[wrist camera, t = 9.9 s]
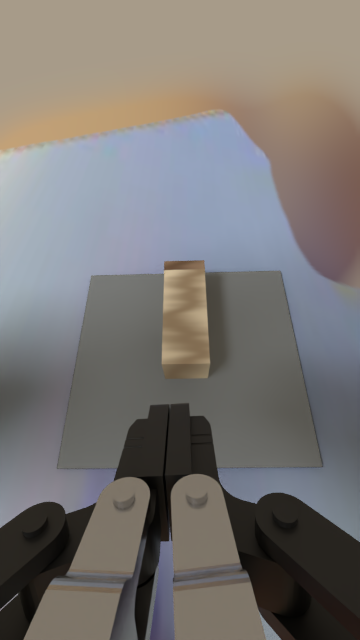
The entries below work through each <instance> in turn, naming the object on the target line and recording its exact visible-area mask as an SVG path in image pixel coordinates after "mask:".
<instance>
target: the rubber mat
mask: <svg viewBox="0 0 360 640" xmlns="http://www.w3.org/2000/svg"><path fill="white" fill-rule="evenodd" d="M205 284H206V301H207V318H208V336H209V353H210V367H209V373H208V378H190V379H165V375H164V371H163V368H162V332H163V296H164V274H137V275H97V276H91V280H90V286H89V292H88V297H87V303H86V308H85V314H84V320H83V325H82V331H81V336H80V342H79V348H78V353H77V359H76V364H75V370H74V376H73V381H72V387H71V392H70V398H69V403H68V409H67V415H66V420H65V426H64V431H63V437H62V443H61V448H60V454H59V459H58V465H57V469H88V468H118V465H119V461H120V458H121V454H122V451H123V449H124V444H125V440H126V437H127V433H128V430H129V427H130V426H131V425H132V424H133V423H134V422H135V421H136V420H137V419H148V414H149V409H150V405H159V404H169V405H170V404H177V403H189V409H190V416H204V417H205V418H206V419H207V420H208V421H209V423H210V425H211V431H212V438H213V444H214V451H215V458H216V464H217V468H254V467H322V462H321V457H320V453H319V448H318V443H317V439H316V434H315V430H314V425H313V420H312V416H311V411H310V406H309V402H308V397H307V393H306V388H305V383H304V379H303V374H302V369H301V365H300V360H299V355H298V351H297V346H296V342H295V337H294V332H293V328H292V323H291V318H290V314H289V309H288V305H287V300H286V295H285V291H284V286H283V281H282V277H281V272H280V271H254V272H215V273H205Z"/></svg>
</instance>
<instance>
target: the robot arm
mask: <svg viewBox="0 0 360 640" xmlns="http://www.w3.org/2000/svg"><path fill="white" fill-rule="evenodd" d="M169 532H171V541H173V564H174V577H173V597H174V624H175V640H266V637H265V634H264V630H263V626H262V622H261V618H260V615H259V612H260V614H261V615H262V617H263V618H264V619H265V621H266V622H267V623H268V624H269V625H270V627H271V628H272V629H273V630H274V631H275V632H276V634H277V635H278V636H279V637H280V638H281V639H282V640H360V542H359V541H357V540H356V539H354V538H353V537H352V536H350V535H349V534H347V533H346V532H345V531H343V530H342V529H340V528H339V527H337V526H336V525H335V524H333V523H332V522H330V521H329V520H328V519H326V518H325V517H323V516H322V515H320V514H319V513H318V512H316V511H315V510H313V509H312V508H311V507H309V506H308V505H306V504H305V503H303V502H302V501H301V500H299V499H297V498H296V497H293V496H291V495H288V494H284V493H271V494H267V495H265V496H263V497H262V498H261V499H260V500H259V501H258V503H257V504H255V503H251V502H247V501H243V500H240V499H238V498H235V497H233V496H232V495H230V494H229V493H228V492H227V491H226V490H225V489H224V488H223V487H222V485H221V483H220V481H219V477H218V471H217V464H216V458H215V451H214V444H213V438H212V431H211V425H210V423H209V421H208V420H207V419H206V418H205V417H204V416H190V409H189V403H177V404H170V405H169V404H159V405H150V409H149V414H148V419H137V420H136V421H135V422H134V423H133V424H132V425H131V426H130V427H129V430H128V433H127V437H126V440H125V444H124V449H123V451H122V454H121V458H120V461H119V465H118V468H117V471H116V475H115V478H114V482H112V483H110V484H109V485H108V486H107V487H106V488H105V489H104V490H103V491H102V493H101V494H100V496H99V498H98V501H97V502H96V503H95V504H93V505H91V506H89V507H86V508H83V509H80V510H77V511H74V512H71V513H68V514H65V510H64V508H63V507H62V506H61V505H60V504H58V503H55V502H43V503H39V504H36V505H34V506H32V507H30V508H28V509H26V510H25V511H23V512H22V513H20V514H19V515H18V516H16V517H15V518H14V519H12V520H11V521H9V522H8V523H7V524H5V525H4V526H2V527H1V528H0V609H1V608H2V607H3V606H4V605H5V604H6V603H7V602H9V601H10V600H11V599H12V598H13V597H14V596H15V595H16V594H17V593H18V595H17V596H16V597H15V598H14V599H13V600H12V601H11V602H10V603H8V604H7V605H6V606H5V607H4V608H3V609H2V610H1V611H0V640H149V639H150V632H151V624H152V617H153V610H154V603H155V596H156V588H157V581H158V574H159V567H158V563H159V556H160V542H161V541H169ZM258 610H259V611H258Z"/></svg>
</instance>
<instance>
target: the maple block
mask: <svg viewBox="0 0 360 640" xmlns="http://www.w3.org/2000/svg"><path fill="white" fill-rule="evenodd" d="M209 367H210V353H209V336H208V318H207V301H206V284H205V266H204V260H203V261H166V262H164V296H163V332H162V368H163V371H164V375H165V379H190V378H208V373H209Z"/></svg>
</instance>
